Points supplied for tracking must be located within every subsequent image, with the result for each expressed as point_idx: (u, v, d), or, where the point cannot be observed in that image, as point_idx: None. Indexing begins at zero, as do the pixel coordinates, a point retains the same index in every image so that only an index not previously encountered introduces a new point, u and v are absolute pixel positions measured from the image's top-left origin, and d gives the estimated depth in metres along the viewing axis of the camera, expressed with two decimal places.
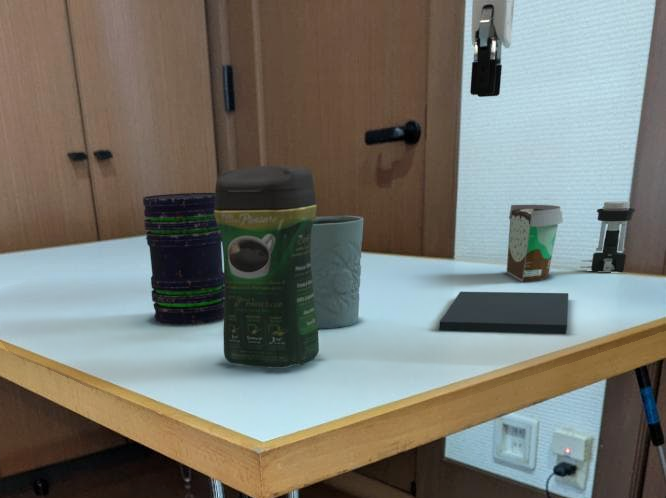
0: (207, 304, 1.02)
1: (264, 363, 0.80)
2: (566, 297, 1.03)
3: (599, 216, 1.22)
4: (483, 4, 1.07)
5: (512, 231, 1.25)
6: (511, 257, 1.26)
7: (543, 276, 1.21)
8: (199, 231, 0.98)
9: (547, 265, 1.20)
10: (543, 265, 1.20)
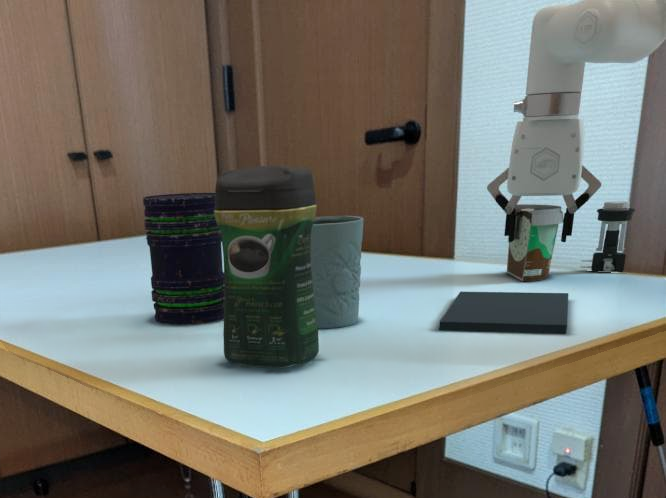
0: (207, 304, 1.02)
1: (264, 363, 0.80)
2: (566, 297, 1.03)
3: (599, 216, 1.22)
4: None
5: None
6: (511, 257, 1.26)
7: (543, 276, 1.21)
8: (199, 231, 0.98)
9: (547, 265, 1.20)
10: (543, 265, 1.20)
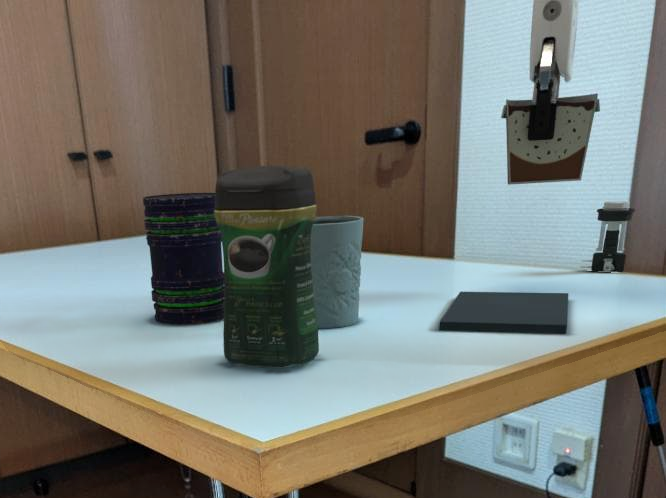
0: (207, 304, 1.02)
1: (264, 363, 0.80)
2: (566, 297, 1.03)
3: (599, 216, 1.22)
4: (543, 40, 0.97)
5: (519, 130, 1.03)
6: (523, 162, 1.05)
7: None
8: (199, 231, 0.98)
9: None
10: None
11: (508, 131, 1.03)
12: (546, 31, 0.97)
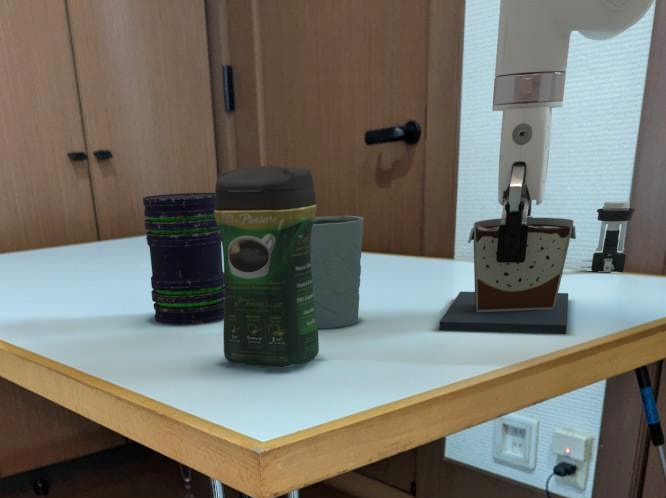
0: (207, 304, 1.02)
1: (264, 363, 0.80)
2: (566, 297, 1.03)
3: (599, 216, 1.22)
4: (513, 161, 0.88)
5: (487, 257, 0.94)
6: (492, 290, 0.96)
7: None
8: (199, 231, 0.98)
9: None
10: None
11: (476, 257, 0.94)
12: (516, 155, 0.88)
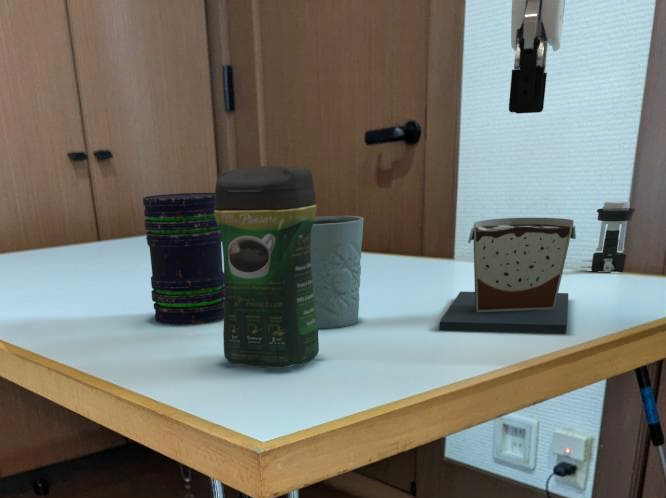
0: (207, 304, 1.02)
1: (264, 363, 0.80)
2: (566, 297, 1.03)
3: (599, 216, 1.22)
4: None
5: (487, 257, 0.94)
6: (492, 289, 0.96)
7: None
8: (199, 231, 0.98)
9: None
10: None
11: (476, 257, 0.94)
12: None
